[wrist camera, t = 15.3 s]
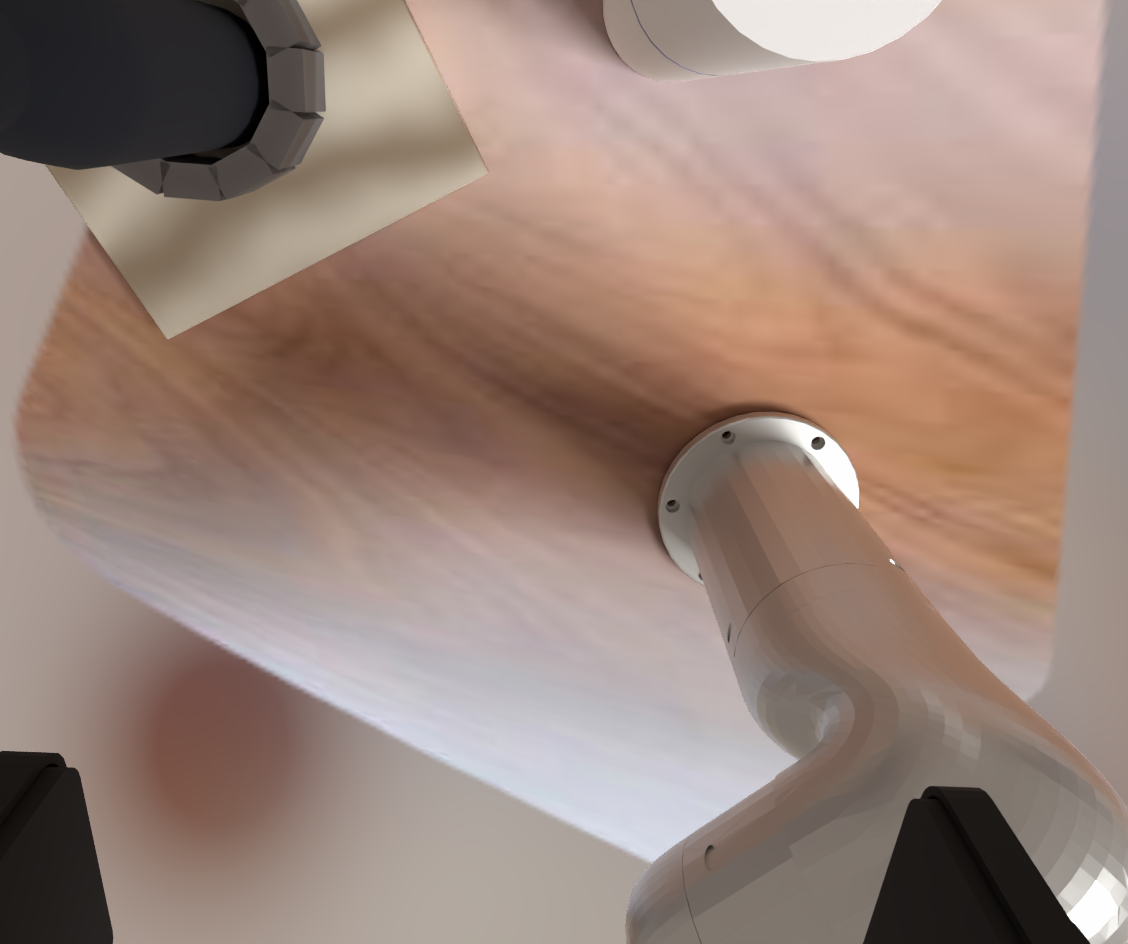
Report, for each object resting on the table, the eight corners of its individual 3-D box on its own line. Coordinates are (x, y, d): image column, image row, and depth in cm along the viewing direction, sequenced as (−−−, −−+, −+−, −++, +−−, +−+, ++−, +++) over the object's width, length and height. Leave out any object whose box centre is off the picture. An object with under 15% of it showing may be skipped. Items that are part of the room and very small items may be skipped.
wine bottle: (246, -14, 39) (-425, -275, 12) (299, 127, 42) (-153, 180, 14) (122, 26, 40) (-794, -135, 12) (181, 163, 42) (-469, 279, 15)
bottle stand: (488, 171, 44) (482, 180, 39) (178, 332, 47) (135, 360, 42) (278, -260, 37) (237, -316, 32) (-76, -35, 40) (-164, -54, 35)
